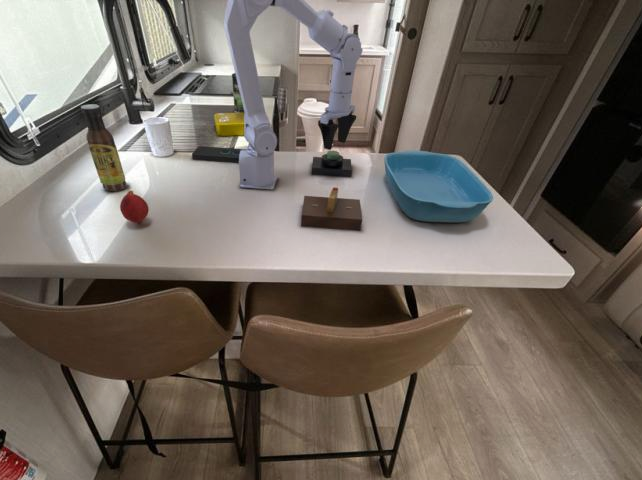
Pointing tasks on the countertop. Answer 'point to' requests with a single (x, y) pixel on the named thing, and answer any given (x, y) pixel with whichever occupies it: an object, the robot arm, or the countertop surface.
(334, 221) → the plate
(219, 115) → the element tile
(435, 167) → the casserole dish
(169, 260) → the countertop surface
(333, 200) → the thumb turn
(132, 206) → the onion
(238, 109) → the coffee can
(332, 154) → the release button
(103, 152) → the sauce bottle
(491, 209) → the countertop surface
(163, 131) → the white cup
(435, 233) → the countertop surface
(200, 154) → the smart home device
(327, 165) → the push button box
